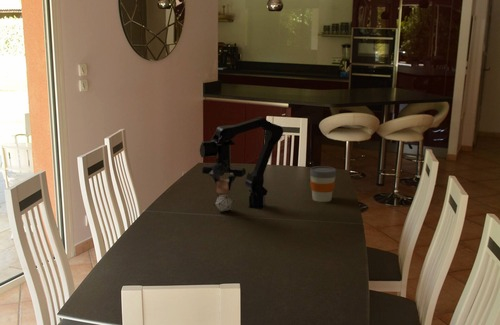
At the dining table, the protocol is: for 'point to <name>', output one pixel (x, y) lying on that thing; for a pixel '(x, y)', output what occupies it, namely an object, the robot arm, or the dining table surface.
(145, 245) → the dining table surface
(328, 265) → the dining table surface
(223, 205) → the game die
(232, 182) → the robot arm
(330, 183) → the reusable coffee cup
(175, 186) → the dining table surface
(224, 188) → the terracotta block
